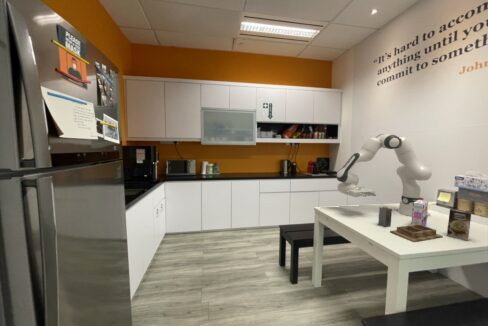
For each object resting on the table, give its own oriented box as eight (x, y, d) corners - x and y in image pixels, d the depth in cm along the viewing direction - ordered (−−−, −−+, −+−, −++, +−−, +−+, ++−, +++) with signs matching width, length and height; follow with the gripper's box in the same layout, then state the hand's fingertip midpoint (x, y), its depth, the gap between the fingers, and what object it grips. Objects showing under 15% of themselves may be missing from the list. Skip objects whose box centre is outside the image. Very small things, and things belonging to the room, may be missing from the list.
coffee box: (446, 236, 129) (449, 209, 128) (447, 233, 134) (449, 207, 132) (468, 241, 123) (471, 213, 121) (468, 237, 127) (471, 211, 126)
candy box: (421, 229, 140) (424, 204, 138) (410, 226, 144) (412, 202, 143) (426, 224, 149) (428, 201, 147) (416, 222, 153) (418, 199, 152)
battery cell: (383, 223, 148) (385, 205, 147) (390, 226, 143) (392, 207, 142) (378, 224, 146) (379, 206, 145) (385, 227, 142) (386, 208, 141)
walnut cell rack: (417, 228, 140) (417, 222, 140) (442, 237, 127) (443, 230, 127) (390, 232, 133) (390, 226, 133) (414, 242, 120) (414, 235, 119)
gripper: (344, 187, 164) (359, 191, 151) (365, 186, 171) (381, 190, 158) (344, 195, 165) (358, 200, 152) (364, 194, 171) (380, 198, 158)
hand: (370, 195), depth 155 cm, fingers open, 8 cm apart
